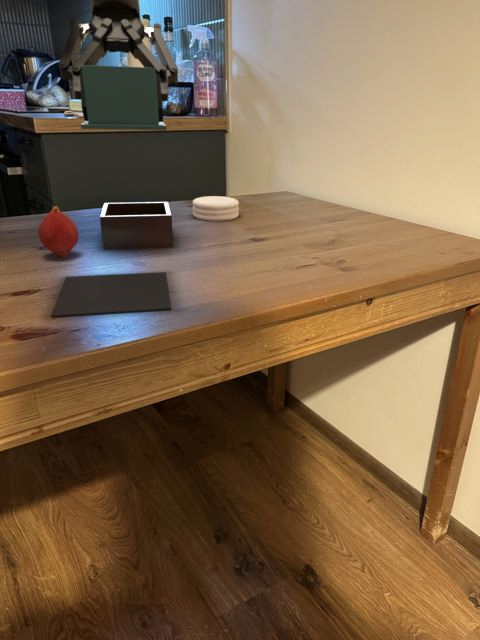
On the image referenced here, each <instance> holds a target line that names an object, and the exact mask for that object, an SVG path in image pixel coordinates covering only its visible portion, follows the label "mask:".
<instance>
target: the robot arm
mask: <svg viewBox="0 0 480 640" xmlns="http://www.w3.org/2000/svg"><path fill="white" fill-rule="evenodd" d="M90 10H91V19H90V20H89V22H88V23H80V21H79V19H78V18H75V17H74V18H73V17H72V18H70V21H69V22H70V31H69V35H68V37H67V40H66V43H65V46H64V48H63V50H62V54H61V56H60V59H59V61H58V67H59V71H60V76H61V78H62V80H63V81H69V80H71V81H72V91H73V95H74V97H75V99H77V100H80V104H81V112H82V116H83V122H85V121H88V116H87V108H86V100H85V91H84V83H83V75H82V67H81V65H96V66H97V64H98V62H99V61H100V60H101V59H102V58H105V57H106V56H107V54H108V53H123V54H131V55H132V56H133V58H134V59H135V60H138V62H139V63H140V64H141V65H142V66H143V67H147V68H156V84H157V100H158V116H159V122H163V123H164V107H163V102H168V101H169V99H170V98H169V92H170V91H169V84H172V85H177V84H178V82H179V67H178V66H177V63H176V61H175V59H174V57H173V55H172V53H171V51H170V49H169V47H168V44H167V43H166V41H165V39H164V37H163V35H162V25H161V24H160V23H158V22H156V23H154V24H153V27H149V26H145V25H144V24H143V23H142V19H141V9H140V0H90ZM88 35H90V36H92V40H91V41H90V42H89V43H88V45H87V46H86V48H85V49H83V52H82V53H81V54H80V52H81V50H82V46H83V42H85V41H86V38H87V36H88ZM145 38H147V39H148V41H149V42H150V45H152V46H153V48H154V51H155V53H156V55H157V57H158V58H156V56H155V55H154V54H153V53H152V52H151V50H150V49H149V48H148V46H147V45H146V44H145V43H144V41H143V40H144V39H145ZM158 59H159V60H158Z"/></svg>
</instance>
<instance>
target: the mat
mask: <svg viewBox="0 0 480 640" xmlns="http://www.w3.org/2000/svg"><path fill="white" fill-rule="evenodd" d="M168 284H169V283H168V277H167V272H165V271H161V272H159V271H158V272H140V273H138V272H137V273H117V274H115V273H114V274H96V275H76V276H75V275H73V276H72V275H71V276H66V277H65V278H64V281H63V283H62V285H61V289H60V290H59V293H58V296H57V298H56V301H55V304H54V307H53V309H52V311H51V315H50V318H52V319H56V318H72V317H73V318H74V317H87V316H88V317H90V316H103V315H120V314H122V315H123V314H135V313H136V314H137V313H139V314H140V313H152V312H169V311H172V303H171V297H170V289H169V285H168Z"/></svg>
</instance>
